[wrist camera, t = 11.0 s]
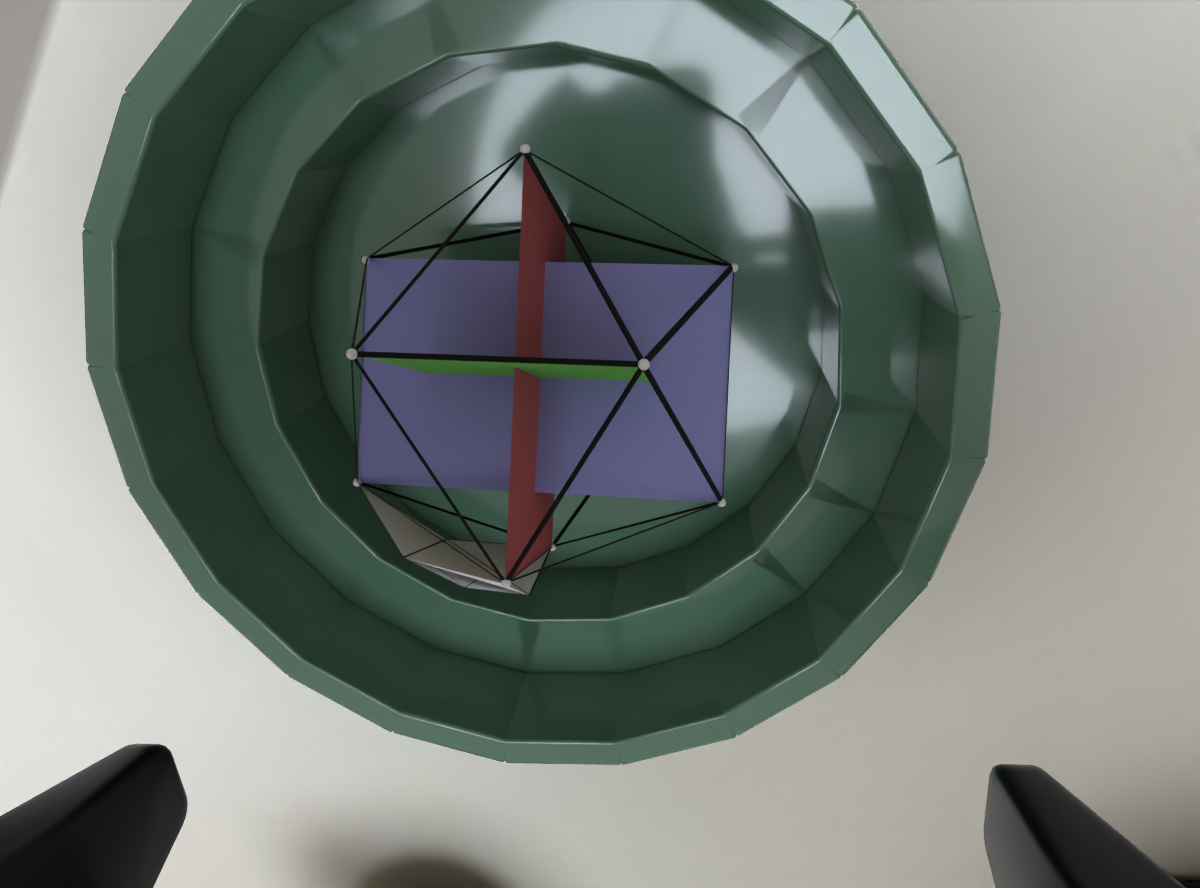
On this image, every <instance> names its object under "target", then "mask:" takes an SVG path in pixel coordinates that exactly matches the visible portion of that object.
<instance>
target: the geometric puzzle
mask: <svg viewBox="0 0 1200 888" xmlns="http://www.w3.org/2000/svg"><path fill="white" fill-rule="evenodd" d="M530 154H531V155H532V156H534V157H536V158H538V159H540V160H541V161H543V162H545V163H547V164H549V165H550V166H552V167H554V168H556V169H558V170H559V171H561V172H563V173H565V174H567V175H568V176H570V177H572V178H574V179H576V180H577V181H579V182H581V183H583V184H585V185H586V186H588V187H590V188H592V189H593V190H595V191H597V192H599V193H601V194H602V195H604V196H606V197H608V198H610V199H611V200H613V201H615V202H617V203H619V204H620V205H622V206H624V207H626V208H628V209H629V210H631V211H633V212H635V213H637V214H638V215H640V216H642V217H644V218H646V219H647V220H649V221H651V222H653V223H655V224H656V225H658V226H660V227H662V228H664V229H665V230H667V231H669V232H671V233H673V234H674V235H676V236H678V237H680V238H682V239H683V240H685V241H687V242H689V243H690V244H692V245H694V246H696V247H698V248H699V249H701V250H703V251H705V252H707V253H708V254H710V255H712V256H714V257H716V258H717V259H719V260H721V261H723V262H720V261H717V260H713V259H709V258H705V257H701V256H698V255H694V254H690V253H686V252H683V251H679V250H675V249H671V248H667V247H664V246H660V245H656V244H652V243H649V242H645V241H641V240H637V239H633V238H630V237H626V236H622V235H618V234H615V233H611V232H607V231H603V230H600V229H596V228H592V227H588V226H584V225H581V224H577V223H573V222H571V220H570V218H568V217H565V215H564V213H563V212H562V210H561V208H560V206H559V205H558V203H557V201H556V199H555V198H554V196H553V194H552V192H551V191H550V189H549V187H548V185H547V183H546V182H545V180H544V178H543V176H542V174H541V173H540V171H539V169H538V167H537V165H536V164H535V162H534V160H533V158H532V156H531V155H530ZM522 155H524V167H523V189H522V212H521V229H516V230H510V231H505V232H500V233H494V234H489V235H483V236H478V237H472V238H467V239H461V240H456V241H450V240H451V239H452V238H453V237H454V236H455V234H456V233H457V232H458V231H459V230H460V228H461V227H462V226H463V225H464V224H465V223H466V221H467V220H468V219H469V218H470V217H471V215H472V214H473V213H474V212H475V211H476V210H477V208H478V207H479V206H480V205H481V204H482V202H483V201H484V200H485V199H486V198H487V197H488V195H489V194H490V193H491V192H492V191H493V189H494V188H495V187H496V186H497V185H498V183H499V182H500V181H501V180H502V179H503V178H504V176H505V175H506V174H507V173H508V172H509V170H510V169H511V168H512V167H513V166H514V165H515V163H516V162H517V161H518V160H519V159H520V157H521V156H522ZM515 157H516V158H515ZM514 158H515V159H514ZM512 159H514V160H513V161H512V162H511V164H510V165H509V166H508V167H507V168H506V169H505V171H504V172H503V173H502V174H501V175H500V177H499V178H498V179H497V180H496V181H495V182H494V184H493V185H492V186H491V187H490V188H489V190H488V191H487V192H486V193H485V194H484V195H483V197H482V198H481V199H480V200H479V201H478V203H477V204H476V205H475V206H474V207H473V208H472V210H471V211H470V212H469V213H468V214H467V215H466V217H465V218H464V219H463V220H462V221H461V223H460V224H459V225H458V226H457V227H456V228H455V230H454V231H453V232H452V233H451V234H450V236H449V237H448V238H447V239H446V240H445V241H444V243H439V244H434V245H428V246H423V247H417V248H412V249H406V250H401V251H395V252H390V253H384V254H379V255H374V254H376V253H377V252H379V251H380V250H381V249H383V248H384V247H386V246H387V245H389V244H390V243H392V242H393V241H395V240H396V239H397V238H399V237H400V236H402V235H403V234H405V233H406V232H408V231H409V230H410V229H412V228H413V227H415V226H416V225H418V224H419V223H421V222H422V221H424V220H425V219H426V218H428V217H429V216H431V215H432V214H434V213H435V212H437V211H438V210H440V209H441V208H442V207H444V206H445V205H447V204H448V203H450V202H451V201H453V200H454V199H455V198H457V197H458V196H460V195H461V194H463V193H464V192H466V191H467V190H469V189H470V188H471V187H473V186H474V185H476V184H477V183H479V182H480V181H482V180H483V179H484V178H486V177H487V176H489V175H490V174H492V173H493V172H495V171H496V170H498V169H499V168H500V167H502V166H503V165H505V164H506V163H508V162H509V161H511V160H512ZM572 226H575V227H578V228H582V229H586V230H589V231H593V232H597V233H601V234H604V235H608V236H612V237H615V238H619V239H623V240H627V241H630V242H634V243H638V244H642V245H645V246H649V247H653V248H656V249H660V250H664V251H668V252H671V253H675V254H679V255H682V256H686V257H690V258H694V259H697V260H701V261H705V262H709V263H712V264H716V265H671V264H624V263H592V262H591V260H590V258H589V256H588V254H587V253H586V251H585V249H584V247H583V245H582V244H581V242H580V240H579V238H578V237H577V235H576V233H575V231H574V229H573V228H572ZM566 232H567V233H568V235H569V237H570V239H571V241H572V242H573V244H574V246H575V248H576V250H577V252H578V253H579V255H580V257H581V259H582V261H583V262H584V263H577V262H565V246H566ZM515 233H521V234H520V257H519V261H483V260H436V259H435V258H436V257H437V256H438V254H439V253H440V252H441V251H442V250H443V249H444V247H445V246H450V245H456V244H461V243H466V242H472V241H477V240H483V239H488V238H494V237H499V236H504V235H510V234H515ZM449 241H450V242H449ZM434 248H439V249H438V250H437V251H436V252H435V253H434V254H433V256H432V257H431V258H430V259H389V258H385V257H391V256H396V255H401V254H407V253H412V252H418V251H423V250H428V249H434ZM362 262H363V263H364V264H365V268H364V275H363V281H362V287H361V293H360V299H359V305H358V311H357V317H356V323H355V330H354V336H353V342H352V348H351V349H348V350H347V352H346V356H347V358H349V359H351V374H352V395H353V415H354V435H355V455H356V476H357V478H356V479H354V480H353V485H354V486H356V487H360V488H361V490H362V492H363V493H364V495H365V497H366V498H367V500H368V502H369V503H370V505H371V506H372V508H373V510H374V511H375V513H376V515H377V516H378V518H379V520H380V521H381V523H382V524H383V526H384V528H385V529H386V531H387V533H388V534H389V536H390V538H391V539H392V541H393V542H394V544H395V546H396V547H397V549H398V551H399V552H400V554H401V556H402V557H403V558H405V559H407V560H409V561H411V562H413V563H415V564H417V565H419V566H421V567H424V568H426V569H428V570H430V571H432V572H434V573H436V574H438V575H440V576H442V577H444V578H446V579H448V580H450V581H452V582H454V583H456V584H458V585H460V586H462V587H464V588H471V589H479V590H488V591H496V592H504V593H513V594H521V595H529V596H530V595H531V593H532V591H533V589H534V586H535V584H536V582H537V580H538V577H539V575H540V573H541V571H542V570H544V569H547V568H549V567H552V566H555V565H557V564H560V563H563V562H566V561H568V560H571V559H574V558H576V557H579V556H582V555H584V554H587V553H590V552H592V551H595V550H598V549H600V548H603V547H606V546H608V545H611V544H614V543H616V542H619V541H622V540H624V539H627V538H630V537H632V536H635V535H638V534H640V533H643V532H646V531H648V530H651V529H654V528H656V527H659V526H662V525H664V524H667V523H670V522H672V521H675V520H678V519H680V518H683V517H686V516H688V515H691V514H694V513H696V512H699V511H702V510H704V509H707V508H710V507H712V506H715V505H718V506H720V507H724V506H725V505H726V500H725V499H724V498H723V490H724V469H725V448H726V427H727V407H728V386H729V365H730V344H731V323H732V303H733V282H734V272H736V271H737V270H738V265H737V264H735V263H732V264H730V263H728V262H726V261H725V260H723V259H721V258H719V257H718V256H716V255H714V254H712V253H710V252H709V251H707V250H705V249H703V248H701V247H700V246H698V245H696V244H694V243H692V242H691V241H689V240H687V239H685V238H683V237H682V236H680V235H678V234H676V233H675V232H673V231H671V230H669V229H667V228H666V227H664V226H662V225H660V224H658V223H657V222H655V221H653V220H651V219H649V218H648V217H646V216H644V215H642V214H640V213H639V212H637V211H635V210H633V209H632V208H630V207H628V206H626V205H624V204H623V203H621V202H619V201H617V200H615V199H614V198H612V197H610V196H608V195H606V194H605V193H603V192H601V191H599V190H597V189H596V188H594V187H592V186H590V185H589V184H587V183H585V182H583V181H581V180H580V179H578V178H576V177H574V176H572V175H571V174H569V173H567V172H565V171H563V170H562V169H560V168H558V167H556V166H554V165H553V164H551V163H549V162H547V161H546V160H544V159H542V158H540V157H538V156H537V155H535V154H533V153H531V152H530V147H529V145H528V144H522V145H521V146H520V152H519V153H517V154H516V155H514V156H513V157H512V158H510V159H509V160H507V161H506V162H504V163H503V164H501V165H500V166H499V167H497V168H496V169H494V170H493V171H491V172H490V173H488V174H487V175H486V176H484V177H483V178H481V179H480V180H478V181H477V182H475V183H474V184H472V185H471V186H470V187H468V188H467V189H465V190H464V191H462V192H461V193H459V194H458V195H457V196H455V197H454V198H452V199H451V200H449V201H448V202H446V203H445V204H444V205H442V206H441V207H439V208H438V209H436V210H435V211H433V212H432V213H431V214H429V215H428V216H426V217H425V218H423V219H422V220H420V221H419V222H418V223H416V224H415V225H413V226H412V227H410V228H409V229H407V230H406V231H405V232H403V233H402V234H400V235H399V236H397V237H396V238H394V239H393V240H392V241H390V242H389V243H387V244H386V245H384V246H383V247H381V248H380V249H379V250H377V251H376V252H374V253H373V254H371V255H370V256H363V257H362ZM724 262H725V263H724ZM718 265H720V266H718ZM364 280H365V296H364V320H363V338H362V339H361V341H360V342H359V343H358V344H357V345H356V347H355V348H354V344H355V337H356V331H357V325H358V318H359V312H360V306H361V299H362V293H363V287H364ZM361 346H362V351H357V350H358V349H359V348H360V347H361ZM357 357H362V366H361V364H360V363H359V361H358V360H357ZM353 360H354V362H355V363H356V365H357V366H358V368H359V369H360V371H361V392H360V416H359V440H358V464H357V444H356V422H355V400H354V378H353ZM366 483H375V484H394V485H412V486H430V487H439V488H440V490H441V491H442V493H443V494H444V496H445V497H446V499H447V500H448V502H449V503H450V505H451V506H452V508H453V509H454V511H455V512H456V513H453V512H450V511H447V510H444V509H441V508H438V507H435V506H432V505H429V504H426V503H423V502H420V501H417V500H414V499H411V498H408V497H405V496H402V495H399V494H396V493H393V492H390V491H387V490H384V489H381V488H378V487H375V486H372V485H369V484H366ZM363 485H364V486H363ZM365 486H367V487H370V488H373V489H376V490H379V491H382V492H385V493H388V494H391V495H394V496H397V497H400V498H403V499H406V500H409V501H412V502H415V503H418V504H421V505H424V506H427V507H430V508H433V509H436V510H439V511H442V512H445V513H448V514H451V515H454V516H457V517H459V518H460V520H461V521H462V523H463V524H464V526H465V527H466V529H467V530H468V532H469V533H470V535H471V536H472V537H473V539H474V540H475V541H467V540H455V539H446V538H445V537H443V536H441V535H440V534H438V533H437V532H435V531H433V530H432V529H430V528H429V527H427V526H426V525H424V524H422V523H421V522H419V521H418V520H416V519H414V518H413V517H411V516H410V515H408V514H406V513H405V512H403V511H402V510H400V509H398V508H397V507H395V506H394V505H392V504H390V503H389V502H387V501H386V500H384V499H382V498H381V497H379V496H378V495H376V494H375V493H373V492H372V491H370V490H369V489H368V488H366V487H365ZM443 487H448V488H466V489H484V490H503V491H509V505H508V527H507V530H504V529H501V528H498V527H495V526H492V525H489V524H486V523H483V522H480V521H477V520H474V519H471V518H468V517H465V516H462V515H461V514H460V512H459V511H458V509H457V508H456V506H455V505H454V503H453V502H452V500H451V499H450V497H449V496H448V494H447V493H446V491H445V490H444V488H443ZM554 493H557V494H558V496H557V498H556V499H555V501H554ZM565 494H575V495H586V496H585V498H584V499H583V500H582V502H581V503H580V505H579V506H578V507H577V509H576V510H575V512H574V513H573V514H572V516H571V517H570V519H569V520H568V521H567V523H566V524H565V526H564V527H563V528H562V530H561V531H560V533H559V534H558V535H557V537H556V538H555V540H554V541H553V542H552V534H553V512H554V511H555V509H556V507H557V506H558V504H559V503H560V501H561V500H562V498H563V496H564V495H565ZM591 495H594V496H612V497H630V498H648V499H666V500H684V501H703V502H714V503H710V504H707V505H703V506H699V507H695V508H691V509H688V510H684V511H680V512H676V513H672V514H669V515H665V516H661V517H657V518H654V519H650V520H646V521H642V522H638V523H635V524H631V525H627V526H623V527H619V528H616V529H612V530H608V531H604V532H600V533H597V534H593V535H589V536H585V537H582V538H578V539H574V540H570V541H566V542H563V543H559V544H556V543H557V542H558V541H559V539H560V538H561V536H562V535H563V534H564V532H565V531H566V529H567V528H568V527H569V525H570V524H571V522H572V521H573V520H574V518H575V517H576V515H577V514H578V513H579V511H580V510H581V508H582V507H583V506H584V504H585V503H586V501H587V500H588V499H589V497H590V496H591ZM701 508H702V509H701ZM697 509H699V510H697ZM693 510H696V511H694V512H691V513H688V514H686V515H683V516H680V517H678V518H675V519H672V520H670V521H667V522H664V523H662V524H659V525H656V526H654V527H651V528H648V529H646V530H643V531H640V532H638V533H635V534H632V535H629V536H627V537H624V538H621V539H619V540H616V541H613V542H611V543H608V544H605V545H603V546H600V547H597V548H595V549H592V550H589V551H587V552H584V553H581V554H579V555H576V556H573V557H570V558H568V559H565V560H562V561H560V562H557V563H554V564H552V565H549V566H546V567H544V568H543V566H544V564H545V562H546V559H547V557H548V555H549V553H550V550H551V551H554V550H555V549H556V546H560V545H563V544H567V543H571V542H575V541H579V540H583V539H586V538H590V537H594V536H598V535H602V534H606V533H609V532H613V531H617V530H621V529H625V528H628V527H632V526H636V525H640V524H644V523H648V522H651V521H655V520H659V519H663V518H667V517H671V516H674V515H678V514H682V513H686V512H690V511H693ZM465 519H466V520H469V521H472V522H475V523H478V524H481V525H484V526H487V527H490V528H493V529H496V530H499V531H502V532H505V533H507V544H504V543H492V542H479V540H478V539H477V537H476V536H475V534H474V533H473V531H472V530H471V528H470V527H469V525H468V524H467V522H466V521H465Z"/></svg>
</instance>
